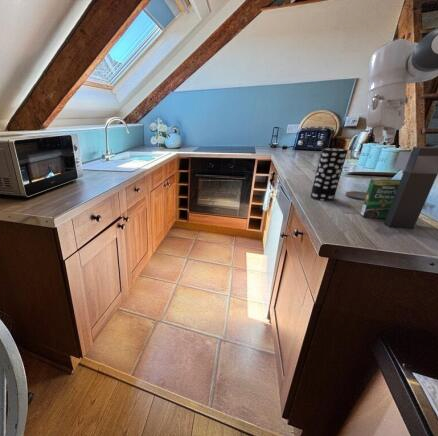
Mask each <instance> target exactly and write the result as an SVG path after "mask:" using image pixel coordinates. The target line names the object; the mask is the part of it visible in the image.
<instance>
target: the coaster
mask: <svg viewBox="0 0 438 436" xmlns="http://www.w3.org/2000/svg"><path fill="white" fill-rule="evenodd" d="M366 193H367V192H366V191H365V192H364V191H354V190H353V191H351V190H350V191H346V192H345V194H344V195H345V197H347V198H349V199H353V200H359V201H364V200H365V197H366Z"/></svg>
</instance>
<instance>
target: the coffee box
mask: <svg viewBox="0 0 438 436" xmlns="http://www.w3.org/2000/svg"><path fill="white" fill-rule="evenodd" d="M400 181H401V179H388V178H386V179H385V178H384V179H383V178H371V179H370V180H369V184H368V187H367V191H366V192H365V193H366V197H365V200H363V202H362V203H363V204H362V207H361V209H360V213H359V215H360V216H362V218H368V219H381V220H385V219H386V217H387V214H388V212H389V209H390V206H391V204H392V201H393V199H394V196H395V193H396V191H397V188H398V186H399V183H400Z"/></svg>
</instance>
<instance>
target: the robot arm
mask: <svg viewBox="0 0 438 436" xmlns="http://www.w3.org/2000/svg"><path fill="white" fill-rule="evenodd" d="M367 74H368V77H367V80H368V83H369V86H368V87H369V88H368V91H367V105H366V106H367V111H366V121H365V123H366V127H367V128H371V129H372V133H373V135H374V143H383V142H384V141H385V142H384V143H385V144H386V145H389V144H394V143H395V136H396V134H397V131H398V130H399V131H400V130H402V128H403V125H404V122H405V121H404V120H405V113H406V105H408V104H409V98H408V95H407V92H408V91H407V87H408V84H416V83H424V82H429V81H430V80H433V79H434V78H437V77H438V27H437V28H435V29H433V30H431V31H429V33H427V34H426V35H424V36H423V37H422V38H421V40H420V41H418V42H414V41H409V40H406V39H405V38H398V39H394V40H391V41H389V42H387V43H385V44H383V45H382V46H381V47H379V48H377V49H376V50H375V51H374V53H373V54H372V55H371V58H370V60H369V65H368V73H367ZM384 131H385V134H386V136H385V135H384Z"/></svg>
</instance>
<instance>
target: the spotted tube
mask: <svg viewBox="0 0 438 436" xmlns="http://www.w3.org/2000/svg"><path fill="white" fill-rule="evenodd" d="M347 155H348V149H346V148H336V147H335V148H334V147H332V148H329V147H325V148H321V151H320V155H319V159H318V163H317V168H316V172H315V175H314V179H313V184H312V188H311V192H310V195H309V196H310V198H311V199H313V200H317V201H323V202H332V201H334V200H335V197H336V193H337V189H338V186H339V182H340V179H341V176H342V172H343V169H344V164H345V161H346V157H347Z"/></svg>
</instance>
